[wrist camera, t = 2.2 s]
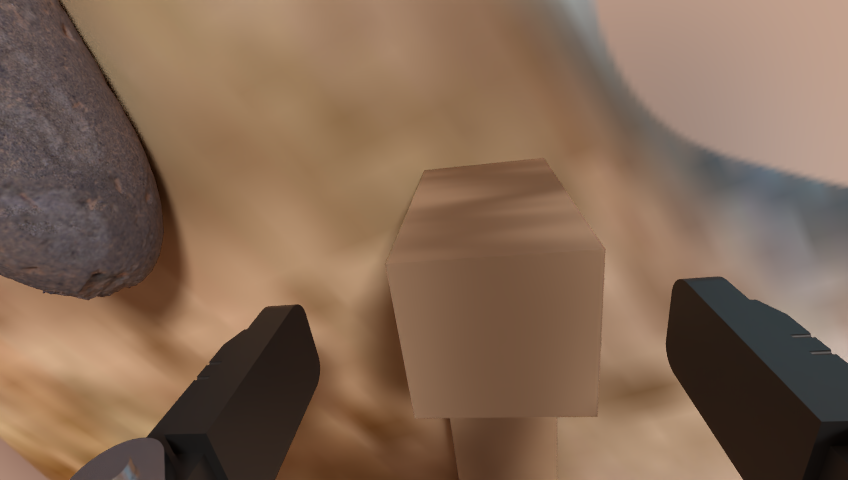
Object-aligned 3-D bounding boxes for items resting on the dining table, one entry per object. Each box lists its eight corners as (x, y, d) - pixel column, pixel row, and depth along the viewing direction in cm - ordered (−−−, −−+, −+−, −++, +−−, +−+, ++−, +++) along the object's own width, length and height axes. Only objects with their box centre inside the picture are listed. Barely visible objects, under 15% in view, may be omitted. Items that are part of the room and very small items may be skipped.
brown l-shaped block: (550, 157, 14) (617, 247, 7) (553, 491, 20) (590, 692, 14) (418, 170, 14) (375, 265, 8) (463, 489, 21) (459, 680, 14)
